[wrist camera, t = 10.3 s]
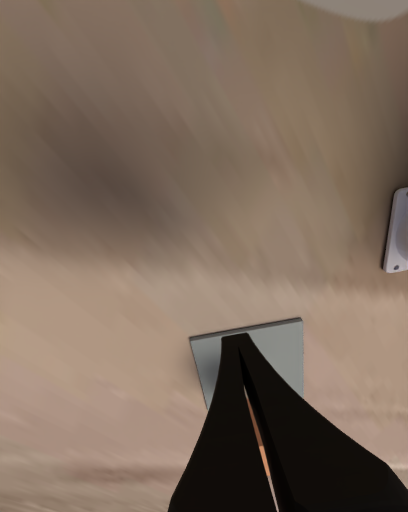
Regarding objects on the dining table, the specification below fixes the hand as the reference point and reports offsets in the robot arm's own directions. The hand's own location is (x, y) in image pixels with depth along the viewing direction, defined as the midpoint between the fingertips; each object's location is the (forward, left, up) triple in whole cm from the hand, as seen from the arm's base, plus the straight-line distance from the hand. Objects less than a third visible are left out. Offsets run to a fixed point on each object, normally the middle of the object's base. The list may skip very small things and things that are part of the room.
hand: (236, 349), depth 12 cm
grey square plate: (-2, +14, -10) cm, 18 cm away
